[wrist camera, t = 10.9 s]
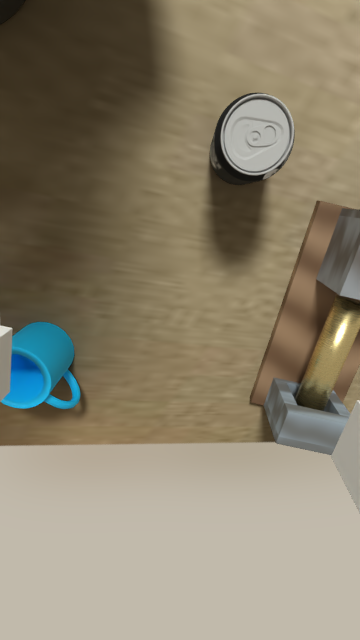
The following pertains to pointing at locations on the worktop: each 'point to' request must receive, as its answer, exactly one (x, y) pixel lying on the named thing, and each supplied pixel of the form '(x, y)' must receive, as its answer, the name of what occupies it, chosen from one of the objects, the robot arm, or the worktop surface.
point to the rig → (312, 332)
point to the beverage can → (252, 139)
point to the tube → (330, 353)
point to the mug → (40, 366)
